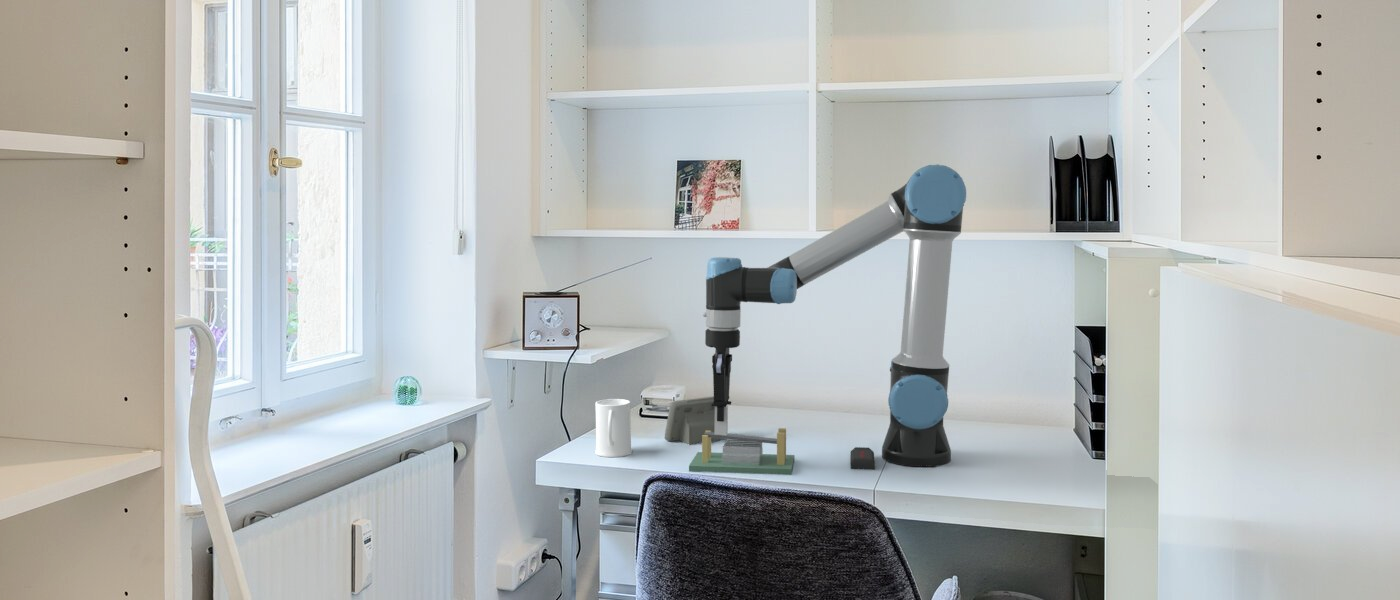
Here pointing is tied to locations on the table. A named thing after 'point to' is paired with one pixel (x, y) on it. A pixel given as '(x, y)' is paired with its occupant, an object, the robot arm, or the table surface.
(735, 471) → the board
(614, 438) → the mug
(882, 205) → the robot arm
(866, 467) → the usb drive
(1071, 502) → the table surface
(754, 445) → the heatsink
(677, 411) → the digital clock
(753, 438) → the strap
